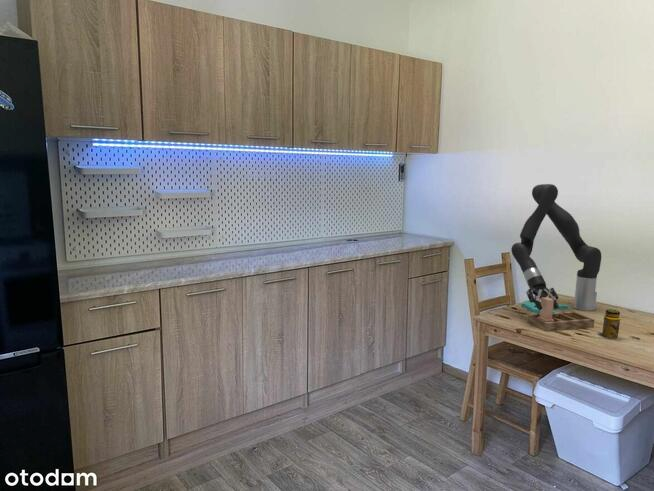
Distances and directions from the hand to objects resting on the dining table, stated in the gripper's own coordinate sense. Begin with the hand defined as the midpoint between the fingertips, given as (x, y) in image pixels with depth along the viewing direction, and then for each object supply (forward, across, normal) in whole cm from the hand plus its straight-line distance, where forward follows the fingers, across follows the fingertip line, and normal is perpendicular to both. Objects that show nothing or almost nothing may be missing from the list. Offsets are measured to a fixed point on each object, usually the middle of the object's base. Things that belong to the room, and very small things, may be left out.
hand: (548, 308), depth 221 cm
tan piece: (+4, 0, +6) cm, 8 cm away
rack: (+5, +8, +7) cm, 12 cm away
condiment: (+18, +18, -6) cm, 26 cm away
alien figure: (-11, +18, +25) cm, 33 cm away
